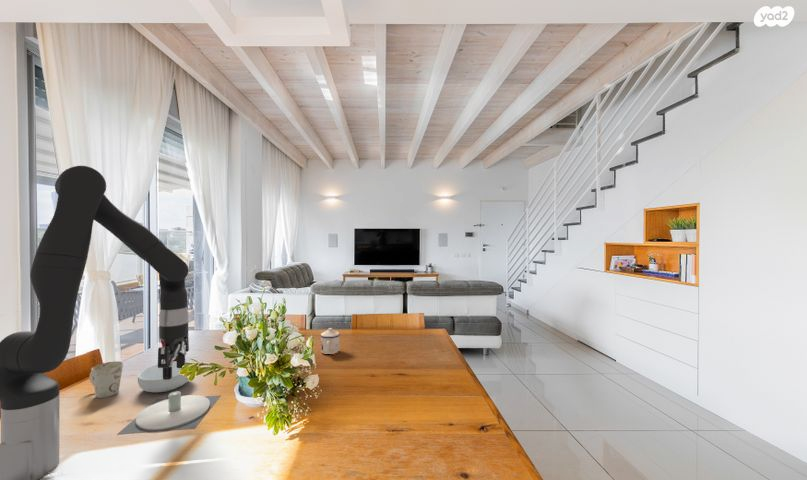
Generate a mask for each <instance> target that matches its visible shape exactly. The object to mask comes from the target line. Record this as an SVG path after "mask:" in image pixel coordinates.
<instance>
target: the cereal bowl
mask: <svg viewBox="0 0 807 480" xmlns="http://www.w3.org/2000/svg"><path fill="white" fill-rule="evenodd" d="M185 363H192V364H193V362H191V361H187V360H185ZM193 365H194V364H193ZM180 369H181V368H177V361H174V362H173V363H172V378H171V379H168V380H164V379H163V368H158V364H156V365H152V366H150V367H147V368H145V369H143V370H142V371H140V372H139V373H138V375H137V384H138V387H139V388H140V389H141V390H143V391H145V392H148V393H165V392H170V391H173V390H175V389H178V388H179V387H180V388H181V386H183V385H185V384H186V383H187V382H188V381H189V380H188V378H187V377H184V376H183V375H180V374H179V372H180Z"/></svg>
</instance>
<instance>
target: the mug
mask: <svg viewBox="0 0 807 480" xmlns="http://www.w3.org/2000/svg"><path fill="white" fill-rule="evenodd" d="M123 366H124V362H123V361H120V360H119V361H116V360H115V361H107V362H103V363H99V364H96V365H94V366H93V367H91V371H90V373H89V377H88V378H89V381H90V383H91V384H92V386H93V389H94V394H95V397H96V398H99V399H104V398H108V397H112V396H115V395H116V394H118V393H119V391H120V386H121V379H122V373H123Z"/></svg>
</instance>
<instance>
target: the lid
mask: <svg viewBox="0 0 807 480" xmlns="http://www.w3.org/2000/svg"><path fill="white" fill-rule="evenodd" d="M165 399H166V400H163V401H160V402H158V403H155V404H153V403H152V404H153V405H151V406H150V405H149V406H147V407H146V408H144V409H143V410H142V411H140V412H139V413H138V414H137V416H136V417H135V418H136V425H137V427H139V428H141V429H144V430H163V429H169V428H174V427H177V426H180V425H184V424H186V423H189V422H191V421H193V420H195V419H197V418H199V417H200V416H202V415H203V414H204V413H206V411H207V410H208V409H209V407H210V401H209V399H208V398H206V397H204V395H197V394H192V395H191V394H188V395H182V392H181V391H180V390H179V391H178V390H176V391H172V392H170V393H169V394H168V398H165Z"/></svg>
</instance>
